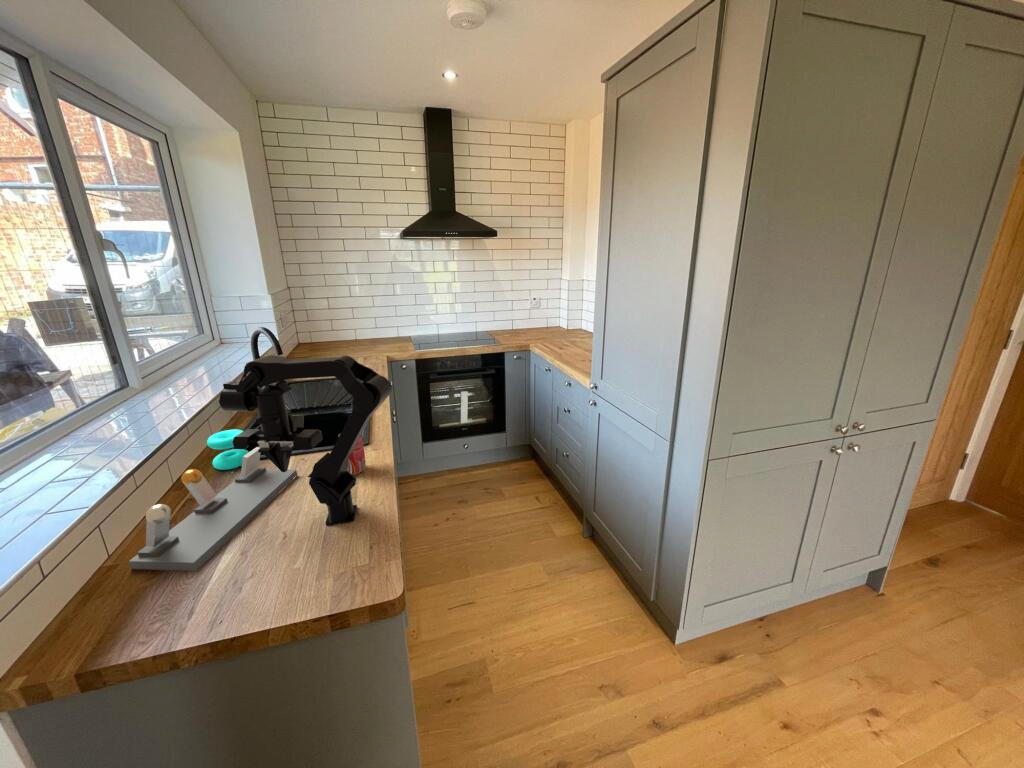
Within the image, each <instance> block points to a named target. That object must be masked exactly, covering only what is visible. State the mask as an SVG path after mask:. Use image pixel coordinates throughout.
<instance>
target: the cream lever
mask: <svg viewBox="0 0 1024 768" xmlns="http://www.w3.org/2000/svg"><path fill="white" fill-rule="evenodd" d="M171 515H172V510H171V508H170V506H169V505H167V504H164V503H158V504H154V505H152V506H150V507H149V508H148V510H147V511H146V512H145V519H146V523H145V528H146V529H145V546H151V547H156V546H157V545H158V544H159V543H161V542H162V541H163V540H165V539H166V538H167V537H169V530H170V519H171Z"/></svg>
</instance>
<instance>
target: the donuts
mask: <svg viewBox="0 0 1024 768" xmlns="http://www.w3.org/2000/svg"><path fill="white" fill-rule="evenodd" d="M243 431H244V430H241V429H235V428H234V429H228V430H222V431H219V432H216V433H214V434H212V435H210V436H209V437H208V439H207V441H206V444H207V446H208V447H209V448H211V449H213V450H221V451H222V450H226V451H224V452H221V453H219V454H217V455H216V456H215V457H214V458H213V460H212V466H213V467H214V468H215V469H216V470H219V471H228V470H232V469H237V468H239V466H240V467H242V460H243V456H244V455H246V454H247V453H249V452H250V451H249V450H247V449H234V447H233V443H232V441H233V438H234V437H235V436H237V435H238V434H240V433H242V432H243ZM231 448H233V449H231ZM228 449H229V450H228Z"/></svg>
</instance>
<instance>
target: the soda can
mask: <svg viewBox="0 0 1024 768" xmlns="http://www.w3.org/2000/svg"><path fill="white" fill-rule="evenodd" d="M340 434H341V433H339V434H338V437H337V438H339V436H340ZM363 441H364V440H363V437H362V435H361V436H360V438H359V440H358V442H357V443H356V445H355V447H354V449H353V451H352V453H351V455H350V456H349V458H348V469H347V471H348V472H349V473H350V474H352V475H353V476H355V475H358V474H361V473H362V472H363V471H364V470H365V469H366V467H367V466H366V464H367V463H366V457H365V456H366V455H365V454H366V453H365V448H364V442H363ZM360 472H361V473H360Z"/></svg>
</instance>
